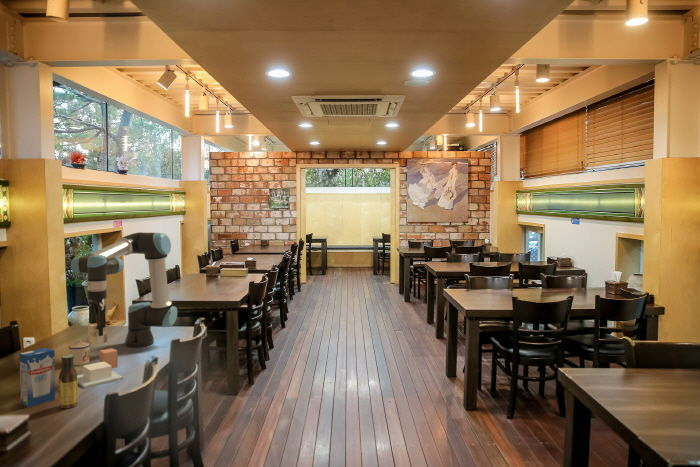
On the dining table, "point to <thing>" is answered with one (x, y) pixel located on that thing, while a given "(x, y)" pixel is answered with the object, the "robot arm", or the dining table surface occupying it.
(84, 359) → the teacup with lid
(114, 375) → the base
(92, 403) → the dining table surface
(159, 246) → the robot arm
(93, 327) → the maple block
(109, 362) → the terracotta block
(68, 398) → the sauce bottle
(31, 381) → the milk carton
